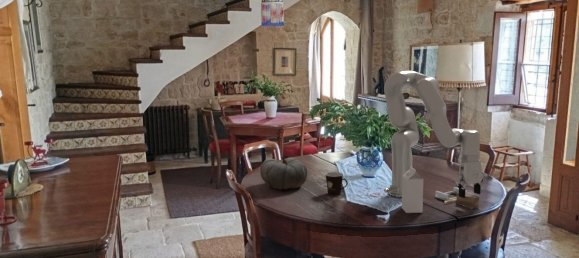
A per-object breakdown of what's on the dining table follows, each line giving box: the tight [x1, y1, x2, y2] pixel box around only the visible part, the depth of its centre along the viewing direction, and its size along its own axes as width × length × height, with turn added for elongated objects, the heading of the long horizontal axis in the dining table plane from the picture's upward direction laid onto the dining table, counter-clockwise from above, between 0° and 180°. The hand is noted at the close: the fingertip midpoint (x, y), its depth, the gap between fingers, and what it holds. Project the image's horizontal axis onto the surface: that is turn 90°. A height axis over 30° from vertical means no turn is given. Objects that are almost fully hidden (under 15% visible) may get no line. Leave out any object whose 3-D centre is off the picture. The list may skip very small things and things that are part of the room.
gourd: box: [260, 155, 308, 191], centre depth 231 cm, size 25×25×17 cm
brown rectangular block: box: [455, 192, 480, 210], centre depth 197 cm, size 4×9×5 cm, turn 24°
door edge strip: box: [443, 199, 457, 205], centre depth 204 cm, size 18×1×1 cm, turn 118°
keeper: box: [434, 186, 468, 201], centre depth 209 cm, size 13×8×3 cm, turn 118°
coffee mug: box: [325, 171, 349, 197], centre depth 215 cm, size 12×9×10 cm
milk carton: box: [401, 166, 424, 214], centre depth 190 cm, size 7×7×19 cm
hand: (469, 195), depth 196 cm, fingers open, 9 cm apart
